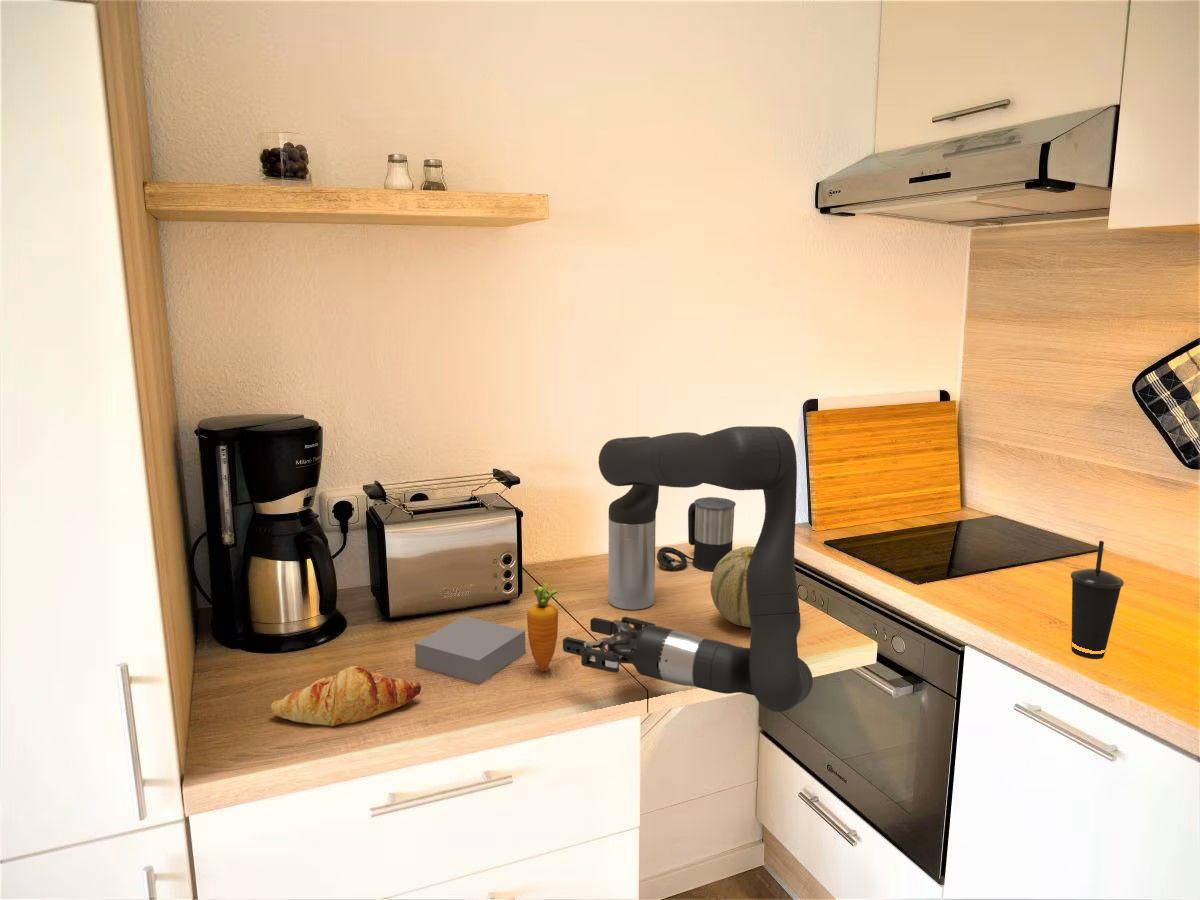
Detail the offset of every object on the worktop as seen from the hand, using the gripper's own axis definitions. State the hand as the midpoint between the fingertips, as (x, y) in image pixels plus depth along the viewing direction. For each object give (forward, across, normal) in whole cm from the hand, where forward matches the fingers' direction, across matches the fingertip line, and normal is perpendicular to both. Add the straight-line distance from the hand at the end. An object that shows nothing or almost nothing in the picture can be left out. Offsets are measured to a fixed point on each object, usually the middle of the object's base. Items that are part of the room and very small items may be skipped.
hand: (577, 633), depth 127 cm
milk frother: (+4, -60, +8) cm, 61 cm away
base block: (+20, +2, +8) cm, 21 cm away
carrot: (+6, 0, +8) cm, 10 cm away
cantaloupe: (-17, -35, +8) cm, 40 cm away
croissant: (+25, +24, +8) cm, 36 cm away
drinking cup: (-72, -51, +8) cm, 88 cm away
